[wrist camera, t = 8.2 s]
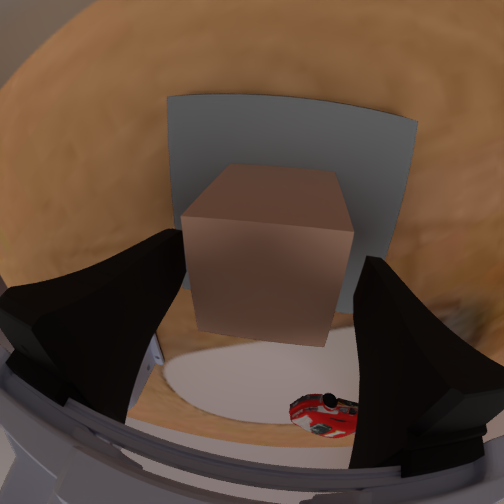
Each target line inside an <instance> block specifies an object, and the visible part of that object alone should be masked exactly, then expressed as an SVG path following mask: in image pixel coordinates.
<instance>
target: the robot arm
mask: <svg viewBox="0 0 504 504" xmlns="http://www.w3.org/2000/svg"><path fill="white" fill-rule="evenodd" d="M186 272H187V270H186V261H185V252H184V242H183V232H182V230H177V229H166V230H164V231H161V232H159V233H157V234H155V235H153V236H151V237H149V238H147V239H146V240H144V241H142V242H140V243H138V244H136V245H134V246H132V247H130V248H129V249H127V250H125V251H122V252H120V253H118V254H116V255H114V256H112V257H110V258H109V259H106V260H104V261H102V262H100V263H97V264H95V265H92V266H90V267H88V268H85V269H82V270H79V271H76V272H73V273H70V274H67V275H65V276H61V277H58V278H54V279H51V280H46V281H42V282H38V283H33V284H27V285H20V286H13V287H10V288H8V289H7V290H6V291H5V292H4V293H3V294H2V295H1V297H0V328H1V330H2V331H3V333H4V334H5V336H6V337H7V339H8V340H9V342H10V343H11V344H12V346H13V347H14V349H15V350H14V351H13V352H12V354H10V352H8V350H7V349H6V348H4V347H3V346H2V345H1V344H0V426H1V427H2V428H3V429H4V431H5V434H6V436H7V438H8V440H9V442H10V445H11V446H12V449H13V451H14V453H15V455H16V458H15V460H14V462H13V464H12V466H11V468H10V470H9V472H8V474H7V476H6V478H5V481H4V483H3V485H2V487H1V490H0V504H278V503H271V502H264V501H257V500H251V499H246V498H240V497H235V496H230V495H226V494H221V493H217V492H213V491H209V490H205V489H201V488H197V487H194V486H190V485H187V484H184V483H180V482H177V481H174V480H171V479H168V478H165V477H162V476H159V475H156V474H153V473H151V472H148V471H145V470H143V467H142V466H141V465H140V464H138V463H137V462H135V461H133V460H131V459H130V458H128V457H127V456H125V455H124V454H123V453H122V452H121V451H120V450H121V448H124V449H126V450H129V451H131V452H133V453H136V454H138V455H141V456H143V457H146V458H148V459H151V460H154V461H156V462H159V463H162V464H165V465H168V466H171V467H174V468H177V469H180V470H183V471H187V472H190V473H194V474H197V475H201V476H205V477H209V478H213V479H217V480H222V481H226V482H231V483H236V484H242V485H248V486H254V487H260V488H268V489H277V490H287V491H301V492H342V493H331V494H316V495H315V496H313V499H309V500H303V501H301V502H300V503H299V504H496V503H498V502H500V501H502V500H503V499H504V435H503V436H500V437H497V438H494V439H492V440H489V441H487V442H485V443H483V439H482V436H484V435H485V434H486V433H487V428H486V423H488V422H489V421H490V420H492V419H493V418H494V417H495V416H497V415H498V414H499V413H500V412H501V411H503V410H504V367H503V366H502V365H500V364H498V363H497V362H495V361H493V360H491V359H490V358H488V357H486V356H485V355H483V354H482V353H480V352H479V351H477V350H476V349H474V348H473V347H472V346H470V345H469V344H468V343H466V342H465V341H464V340H462V339H461V338H460V337H459V336H457V335H456V334H455V333H454V332H452V331H451V330H450V329H449V328H448V327H447V326H445V325H444V324H443V323H442V322H441V321H440V320H439V319H438V318H437V317H436V316H435V315H434V314H433V313H432V312H430V311H429V310H428V309H427V307H426V306H425V305H424V304H423V303H422V302H421V301H420V300H419V299H418V298H417V297H416V296H415V295H414V294H413V292H412V291H411V290H410V289H409V288H408V287H407V286H406V285H405V283H404V282H403V281H402V280H401V279H400V278H399V277H398V275H397V274H396V273H395V272H394V271H393V270H392V268H391V267H390V266H389V265H388V264H387V263H386V262H385V261H384V260H383V259H382V258H381V257H374V256H367V255H366V258H365V262H364V265H363V268H362V271H361V274H360V277H359V280H358V283H357V286H356V289H355V292H354V295H353V320H354V327H355V335H356V343H357V351H358V360H359V372H360V381H359V403H358V415H357V424H356V431H355V438H354V444H353V450H352V455H351V460H350V464H349V468H348V469H316V468H300V467H288V466H279V465H271V464H264V463H256V462H251V461H245V460H240V459H234V458H229V457H225V456H220V455H216V454H211V453H208V452H204V451H200V450H196V449H193V448H189V447H185V446H182V445H178V444H175V443H172V442H169V441H166V440H163V439H160V438H157V437H155V436H152V435H149V434H147V433H144V432H141V431H139V430H136V429H134V428H131V427H129V426H127V425H125V420H126V415H127V411H128V410H129V409H131V408H132V407H133V406H134V405H135V404H136V402H137V400H138V398H139V396H140V394H141V392H142V390H143V388H144V386H145V384H146V382H147V380H148V378H149V376H150V374H151V372H152V370H153V368H154V366H155V363H156V364H159V365H163V364H164V359H163V356H162V353H161V350H160V347H159V344H158V341H157V338H156V334H155V331H156V330H157V328H158V326H159V324H160V323H161V321H162V319H163V317H164V316H165V314H166V312H167V311H168V309H169V307H170V305H171V304H172V302H173V300H174V298H175V297H176V295H177V293H178V291H179V289H180V287H181V284H182V282H183V280H184V277H185V274H186Z"/></svg>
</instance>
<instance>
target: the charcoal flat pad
mask: <svg viewBox="0 0 504 504" xmlns="http://www.w3.org/2000/svg"><path fill="white" fill-rule="evenodd" d="M167 119H168V145H169V163H170V178H171V191H172V202H173V213H174V223H175V229H177V230H182V224H181V215H182V214H183V213H184V212H185V211H186V210H187V208H188V207H189V206H190V205H191V204H192V203H193V202H194V201H195V200H196V199H197V198H198V197H199V195H200V194H201V193H202V192H203V191H204V190H205V189H206V188H207V187H208V186H209V185H210V184H211V183H212V182H213V181H214V180H215V179H216V178H217V177H218V176H219V175H220V174H221V173H222V171H223V170H224V169H225V168H226V167H227V166H228V165H229V164H249V165H266V166H281V167H293V168H304V169H314V170H323V171H331V172H335V174H336V177H337V179H338V182H339V185H340V188H341V191H342V194H343V197H344V200H345V203H346V207H347V210H348V213H349V216H350V219H351V223H352V226H353V229H354V236H353V241H352V245H351V250H350V254H349V259H348V263H347V267H346V271H345V275H344V279H343V283H342V287H341V291H340V295H339V299H338V302H337V306H336V310H335V312H342V313H350V314H353V295H354V292H355V289H356V286H357V283H358V280H359V277H360V274H361V271H362V268H363V265H364V262H365V258H366V255H367V256H374V257H381V258H382V259H383V260H385V257H386V254H387V251H388V248H389V245H390V242H391V238H392V235H393V232H394V229H395V225H396V222H397V218H398V214H399V211H400V207H401V203H402V199H403V195H404V191H405V187H406V183H407V179H408V174H409V170H410V165H411V160H412V155H413V150H414V144H415V138H416V132H417V126H418V121H415V120H412V119H409V118H406V117H403V116H399V115H395V114H391V113H387V112H383V111H378V110H374V109H369V108H364V107H359V106H354V105H349V104H343V103H337V102H331V101H324V100H316V99H308V98H299V97H289V96H277V95H260V94H192V95H179V96H169V97H167ZM183 242H184V239H183ZM184 252H185V247H184ZM185 261H186V254H185ZM186 270H187V272H186V274H185V277H184V280H183V282H182V285H183V288H185V289H190V290H191V287H190V280H189V274H188V267H187V261H186Z"/></svg>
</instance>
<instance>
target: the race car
mask: <svg viewBox="0 0 504 504" xmlns="http://www.w3.org/2000/svg"><path fill="white" fill-rule="evenodd" d="M289 414H290V419H291V421H292V422H293V423H294V424H295V425H298V426H300V427H302V428H303V429H305V430H307V431H309V432H312V433H314V434H317V435H320V436H324V437H329V438H340V437H344V436H347V435H349V434H355V431H356V424H357V415H358V403H355V402H351V401H347V400H344V399H340V398H338V399H336V397H335V396H334V395H333V394H331V393H326V394H324V395H323V396H322V394H308V395H305V396H302V397H301V398H299V399H297V400H296V401H294V402H293V403H292V404H290V411H289Z"/></svg>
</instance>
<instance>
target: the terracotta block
mask: <svg viewBox="0 0 504 504" xmlns="http://www.w3.org/2000/svg"><path fill="white" fill-rule="evenodd" d="M181 224H182V232H183V239H184V247H185V254H186V261H187V267H188V274H189V280H190V287H191V293H192V298H193V304H194V310H195V315H196V321H197V326H198V330H199V331H204V332H210V333H215V334H221V335H228V336H234V337H240V338H247V339H254V340H262V341H269V342H278V343H287V344H295V345H306V346H316V347H324V346H325V343H326V340H327V337H328V333H329V330H330V327H331V323H332V320H333V317H334V313H335V310H336V306H337V302H338V299H339V295H340V291H341V287H342V283H343V279H344V275H345V271H346V267H347V263H348V259H349V254H350V250H351V245H352V241H353V236H354V229H353V226H352V223H351V219H350V216H349V213H348V210H347V207H346V203H345V200H344V197H343V194H342V191H341V188H340V185H339V182H338V179H337V177H336V174H335V172H331V171H323V170H314V169H304V168H293V167H281V166H266V165H249V164H229V165H228V166H227V167H226V168H225V169H224V170H223V171H222V173H221V174H220V175H219V176H218V177H217V178H216V179H215V180H214V181H213V182H212V183H211V184H210V185H209V186H208V187H207V188H206V189H205V190H204V191H203V192H202V193H201V194H200V195H199V197H198V198H197V199H196V200H195V201H194V202H193V203H192V204H191V205H190V206H189V207H188V208H187V210H186V211H185V212H184V213H183V214H182V215H181Z"/></svg>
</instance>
